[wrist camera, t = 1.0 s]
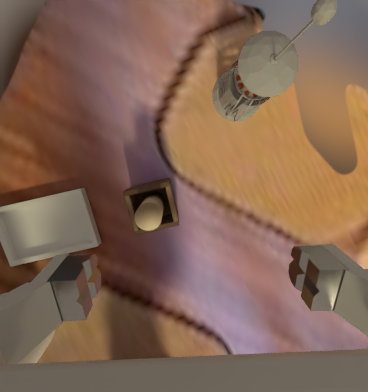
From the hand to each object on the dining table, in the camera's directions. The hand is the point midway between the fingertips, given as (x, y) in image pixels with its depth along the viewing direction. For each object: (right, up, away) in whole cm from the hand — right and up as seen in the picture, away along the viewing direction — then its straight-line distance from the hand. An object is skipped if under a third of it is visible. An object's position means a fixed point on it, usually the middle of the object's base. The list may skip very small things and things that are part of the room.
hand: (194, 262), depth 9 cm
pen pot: (-6, +2, +35) cm, 36 cm away
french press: (+10, +22, +33) cm, 41 cm away
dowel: (-6, +2, +35) cm, 35 cm away
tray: (-28, -3, +35) cm, 45 cm away
